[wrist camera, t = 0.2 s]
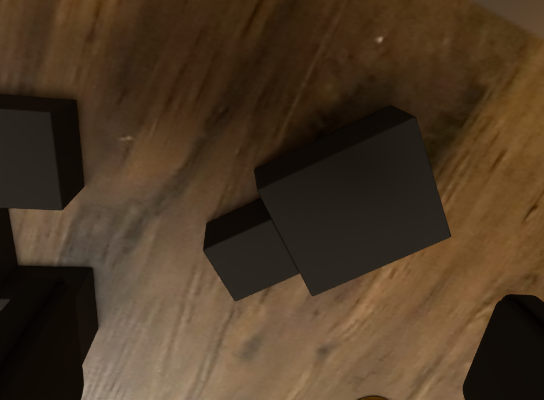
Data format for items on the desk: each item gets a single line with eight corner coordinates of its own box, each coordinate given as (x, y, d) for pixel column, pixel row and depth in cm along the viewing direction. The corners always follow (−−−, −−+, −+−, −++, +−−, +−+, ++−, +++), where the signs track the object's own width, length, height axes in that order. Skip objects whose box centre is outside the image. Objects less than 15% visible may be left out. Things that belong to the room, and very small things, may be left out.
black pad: (190, 198, 22) (184, 223, 19) (391, 104, 21) (416, 116, 18) (246, 291, 24) (248, 324, 22) (426, 212, 23) (452, 237, 21)
